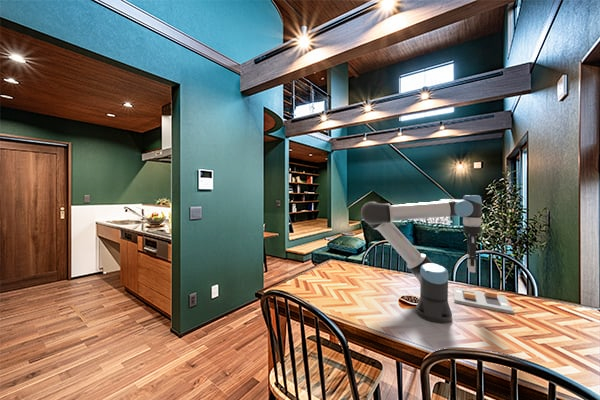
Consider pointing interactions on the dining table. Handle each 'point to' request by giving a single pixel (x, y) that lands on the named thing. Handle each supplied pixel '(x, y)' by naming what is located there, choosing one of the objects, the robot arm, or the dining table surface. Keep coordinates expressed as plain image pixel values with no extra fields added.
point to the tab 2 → (490, 294)
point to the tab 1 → (470, 295)
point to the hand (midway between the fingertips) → (471, 269)
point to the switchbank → (483, 300)
